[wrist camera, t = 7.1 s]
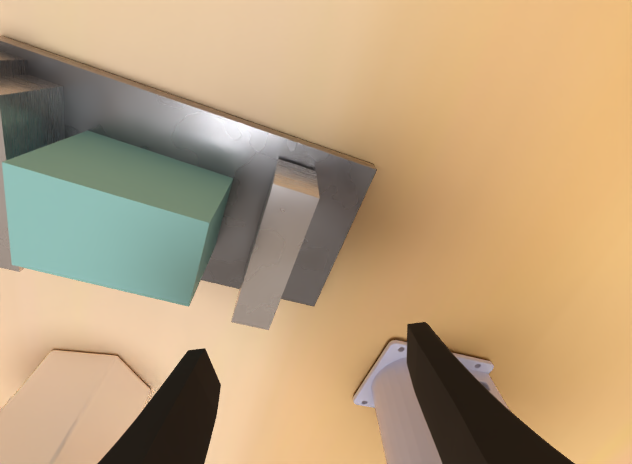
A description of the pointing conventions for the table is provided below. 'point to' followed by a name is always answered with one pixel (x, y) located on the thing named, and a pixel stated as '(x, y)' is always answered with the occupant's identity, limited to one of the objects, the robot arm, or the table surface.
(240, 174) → the vise
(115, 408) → the jar
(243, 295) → the jaw
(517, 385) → the table surface
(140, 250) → the block
